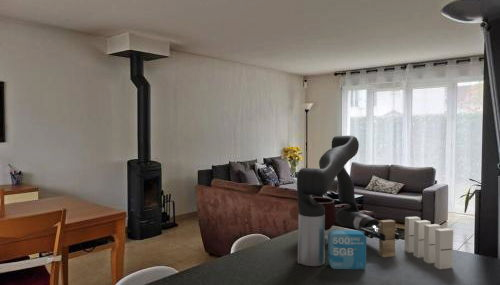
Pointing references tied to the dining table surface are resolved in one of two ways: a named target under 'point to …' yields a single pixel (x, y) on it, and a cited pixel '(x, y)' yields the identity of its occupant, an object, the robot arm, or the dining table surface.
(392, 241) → the tile
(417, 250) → the tile
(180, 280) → the dining table surface
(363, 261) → the data package
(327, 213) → the mate gourd
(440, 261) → the end tile
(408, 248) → the tile
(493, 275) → the dining table surface
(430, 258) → the white domino block
